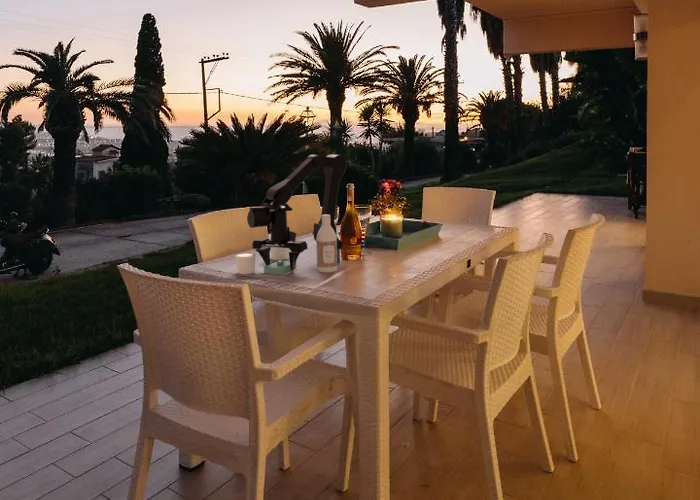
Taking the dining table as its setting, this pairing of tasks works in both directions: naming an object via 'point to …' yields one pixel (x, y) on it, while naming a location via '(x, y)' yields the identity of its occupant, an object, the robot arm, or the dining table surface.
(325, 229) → the bath foam
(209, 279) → the dining table surface
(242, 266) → the cream round container
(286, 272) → the mat
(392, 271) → the dining table surface
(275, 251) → the white cup
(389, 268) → the dining table surface
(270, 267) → the lid
